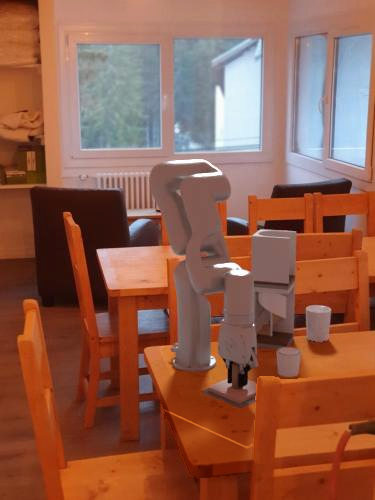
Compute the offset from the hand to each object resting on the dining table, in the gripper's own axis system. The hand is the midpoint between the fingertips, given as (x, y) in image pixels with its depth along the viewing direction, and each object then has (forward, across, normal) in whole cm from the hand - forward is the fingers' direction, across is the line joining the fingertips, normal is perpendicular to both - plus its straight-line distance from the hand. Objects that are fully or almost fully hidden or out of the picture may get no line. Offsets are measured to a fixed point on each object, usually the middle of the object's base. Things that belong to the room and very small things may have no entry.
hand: (237, 383), depth 185 cm
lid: (+2, 0, 0) cm, 2 cm away
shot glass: (+3, +2, +19) cm, 19 cm away
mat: (+2, 0, 0) cm, 3 cm away
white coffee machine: (+3, -17, +36) cm, 40 cm away
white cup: (+3, -8, +48) cm, 49 cm away
